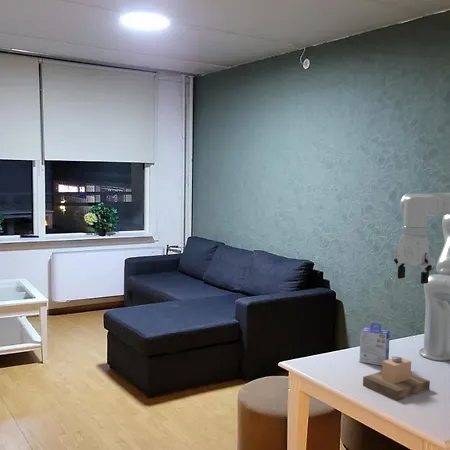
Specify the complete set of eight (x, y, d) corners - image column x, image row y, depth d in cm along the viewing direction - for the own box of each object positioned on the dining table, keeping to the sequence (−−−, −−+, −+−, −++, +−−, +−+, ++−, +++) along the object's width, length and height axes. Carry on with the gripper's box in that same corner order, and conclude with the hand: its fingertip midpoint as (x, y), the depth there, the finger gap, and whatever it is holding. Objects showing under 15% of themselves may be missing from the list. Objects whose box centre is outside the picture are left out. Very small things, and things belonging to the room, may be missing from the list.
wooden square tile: (395, 375, 191) (395, 367, 190) (429, 389, 179) (429, 380, 179) (362, 385, 182) (363, 376, 182) (396, 400, 170) (397, 391, 170)
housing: (382, 378, 180) (382, 358, 179) (398, 373, 184) (399, 353, 184) (394, 383, 176) (394, 362, 175) (410, 378, 180) (411, 358, 179)
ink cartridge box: (389, 362, 204) (390, 324, 202) (386, 366, 199) (387, 328, 197) (362, 357, 208) (364, 320, 207) (359, 362, 204) (360, 324, 202)
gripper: (387, 229, 193) (385, 277, 195) (429, 235, 178) (426, 286, 180) (401, 228, 197) (399, 275, 199) (443, 233, 182) (441, 284, 184)
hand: (412, 280), depth 189 cm, fingers open, 9 cm apart
